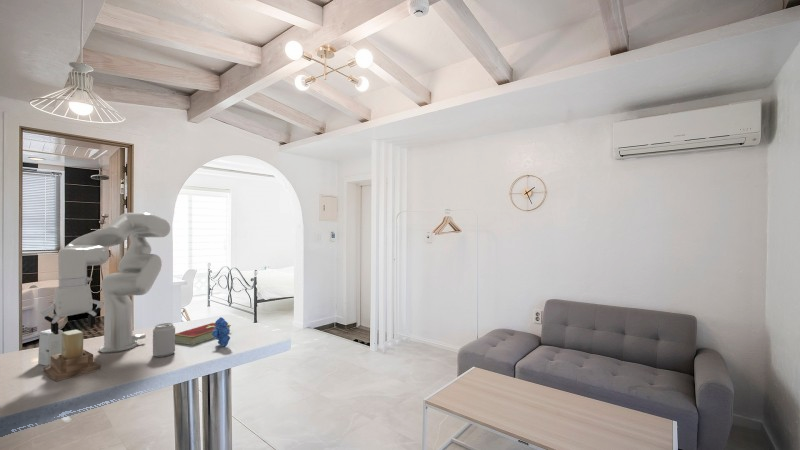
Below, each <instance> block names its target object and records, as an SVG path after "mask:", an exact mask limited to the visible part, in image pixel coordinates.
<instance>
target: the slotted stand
mask: <svg viewBox="0 0 800 450" xmlns="http://www.w3.org/2000/svg"><path fill="white" fill-rule="evenodd" d="M101 366H102V365H101V364H99V363H97V362H96V361H94V354H93V353H91V352H89V351H87V350H86V349H84V348H83V356H80V357H75V358H71V359H67V360H64V359H63V358H61V354H57V355H52V356H51V365H49V366H45V367H43V368H42V373H44V374H45V375H46V376H48V377H49V378H50V379H51V380H53V381H54V382H58V381H62V380H65V379H70V378H74V377H78V376H82V375H84V374H89V373H92V372H97V371H99V370H101Z"/></svg>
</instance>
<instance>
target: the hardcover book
mask: <svg viewBox="0 0 800 450" xmlns="http://www.w3.org/2000/svg"><path fill="white" fill-rule="evenodd" d="M231 326H232V324H228V325H227V328H229V329H230V330H231V328H230V327H231ZM215 327H216V325H215V322H210V323H207V324H204V325H201V326H197V327H193V328H191V329H188V330H186V329H185V330H183V331H180V332H177V333H176V332H175V343H177V344H178V343H180V344H186V345H193V346H194V345H197V344H200V343H202V342H205V341H208V340H211V339H214V338H215V337H214V336H213V335H212V332H213V331H214V329H215Z"/></svg>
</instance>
